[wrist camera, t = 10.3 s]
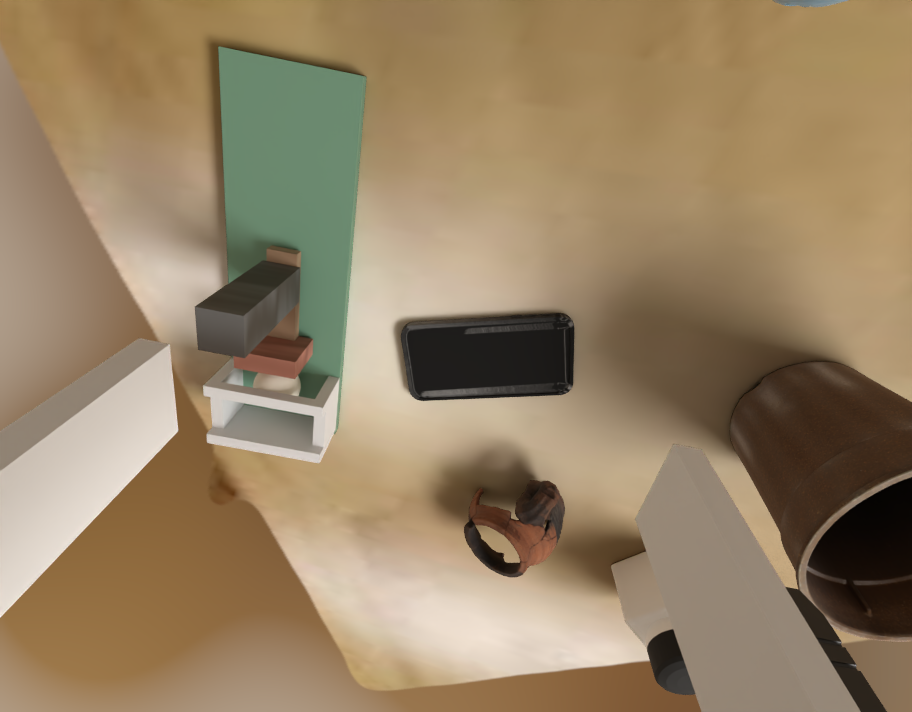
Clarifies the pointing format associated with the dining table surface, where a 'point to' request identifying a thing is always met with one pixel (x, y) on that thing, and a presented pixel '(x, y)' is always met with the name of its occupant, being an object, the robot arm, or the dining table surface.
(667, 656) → the medicine bottle
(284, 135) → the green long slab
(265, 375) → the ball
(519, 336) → the phone
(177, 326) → the dining table surface
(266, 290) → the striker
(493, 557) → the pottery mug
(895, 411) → the plant pot
